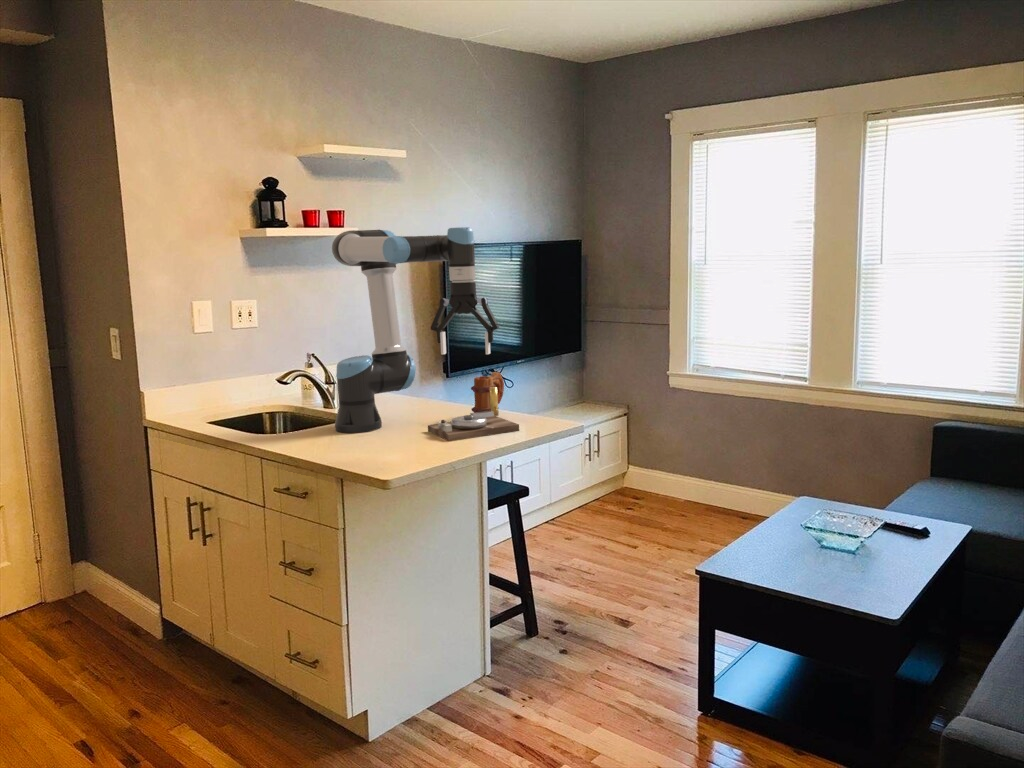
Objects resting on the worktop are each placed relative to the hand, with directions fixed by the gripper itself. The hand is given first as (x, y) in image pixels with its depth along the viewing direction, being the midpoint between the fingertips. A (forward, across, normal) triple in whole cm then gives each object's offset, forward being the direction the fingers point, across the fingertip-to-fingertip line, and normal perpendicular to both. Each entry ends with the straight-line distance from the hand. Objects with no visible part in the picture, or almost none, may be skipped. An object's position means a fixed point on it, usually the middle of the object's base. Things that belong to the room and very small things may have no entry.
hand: (465, 354), depth 244 cm
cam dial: (+24, -2, +13) cm, 28 cm away
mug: (+27, -3, +36) cm, 45 cm away
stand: (+26, -3, +14) cm, 30 cm away
